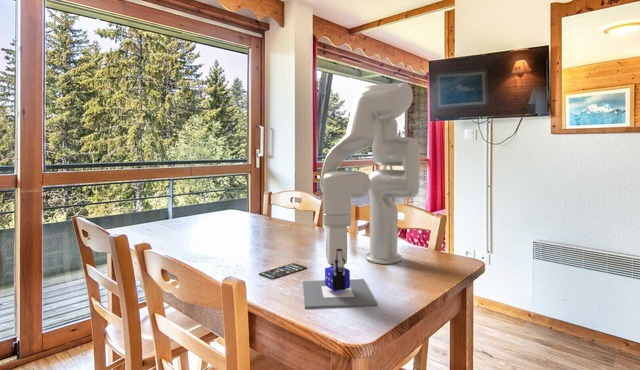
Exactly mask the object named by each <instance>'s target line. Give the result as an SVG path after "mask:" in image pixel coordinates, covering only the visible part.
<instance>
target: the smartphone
mask: <svg viewBox="0 0 640 370" xmlns="http://www.w3.org/2000/svg"><path fill="white" fill-rule="evenodd" d="M307 269H308V268H307V266H304V265H300V264H298V263H294V262H293V263H292V262H291V263H289V264H285V265H282V266H278V267H275V268H272V269H269V270H268V269H267V270H265V271H262V272H260V273H258V276H260V277H263V278H266V279H269V280H271V281H273V280H277V279H280V278H283V277H286V276H289V275H293V274H295V273H298V272H301V271H305V270H307Z"/></svg>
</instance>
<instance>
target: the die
mask: <svg viewBox="0 0 640 370" xmlns="http://www.w3.org/2000/svg"><path fill="white" fill-rule="evenodd" d="M337 267H338V266H336V268H337ZM344 270H345V289H348V288H350V280H351V278H350V277H351V272H350V269H348V268H347V267H345V266H344ZM333 275H334V267H330V266H329V267H325V268H324V280H325V286H327V287H328V288H330V289H331V290H333ZM333 291H338V290H333Z"/></svg>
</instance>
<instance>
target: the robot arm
mask: <svg viewBox="0 0 640 370" xmlns="http://www.w3.org/2000/svg"><path fill="white" fill-rule="evenodd" d="M413 99H414V93H413V88H412V87H411V85H410V84H409V83H407V82H394V83H382V84H381V83H380V84H373V85H368V86H364V87H363V88H362V89H361V90H360V91H359V93H358V94H357V95H356V96H355V97H354V98H353V102H352V107H351V109H350V114H349V118H348V124H347V127H346V131H345V135H344V136H343V137H342V138H341V139H340V140H339V141H337V143H336V144H335V145H334V146H333V147H332V148H331V149H330V150H329V152H328V153H327V154H326V157H325V158H324V161H323V164H322V169H321V173H320V178H319V179H320V180H319V187H320V190H321V192H322V226H323V227H325V228H326V229H325V258H326V260H327V264H328V265H330V266H329V267H334V275H333V290H345V270H344V267H345V265H346V264H347V263H348V227H351V226H352V199H361V198H364V197H365V196H366V195H367V194H368V195H369V196H368V198H369V214H370V215H369V252H368V253H366V254H365V260H367V261H368V262H371V263H374V264H381V265H389V264H390V265H391V264H397V263H400V262H401V261H402V259H403V258H402V255H401V254H400V253H398V235H399V234H398V230H399V229H398V226H399V225H398V224H399V223H398V222H399V221H398V219H399V218H398V217H399V213H398V212H399V211H398V207H397V205H396V203H395V201H394V200H393V198H395V199H414V198H415V197H416V196H417V195H418V194H419V191H420V174H421V173H420V172H421V171H420V164H421V162H420V160H421V159H420V158H421V155H420V153H421V152H420V145H419V143H418V142H419V141H417V140H416V139H415V138H413V137H405V136H403V137H399V136H398V122H397V120H396V119H397V118H399V117H400V116H402V115H403V114H404V113H405V112H406V111H407V110H409V108H410V107H411V106H412V103H413ZM370 147H372V148H371V154H372V155H371V157H372V161H373V163H375V164H376V165H379V166H389V167H393V166H394V167H395V166H396V167H399V166H400V167H403V169H376V170H373V171H371V172H370V173H369V174H367V173H365V172H364V171H361V170H342V169H340V170H338V169H339V168H340V166H341V164H342V163H343V162H344V161H345V160H346V159H348V158H349V157H351V156H352V155H355V154H357V153H360V152H361V151H364V150H366V149H368V148H370ZM336 266H338V267H337V268H336Z"/></svg>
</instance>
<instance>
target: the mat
mask: <svg viewBox="0 0 640 370" xmlns="http://www.w3.org/2000/svg"><path fill="white" fill-rule="evenodd" d="M302 285H303V286H302V287H303V298H304V299H303V301H304V309H325V308H326V309H327V308H328V309H330V308H351V307H352V308H354V307H355V308H356V307H358V308H359V307H376V306H378V302H377V301H376V299H375V297H374V296H373V293H372V291H371V290H370V288H369V286H368V284H367V282H366V280H365V279H364V278H359V279H358V278H357V279H351V278H350V288H348V289H345V290H338V291H333V290H331V289H330V288H328V287H327V286H325V279H324V280H304V281H303V280H302Z"/></svg>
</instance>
